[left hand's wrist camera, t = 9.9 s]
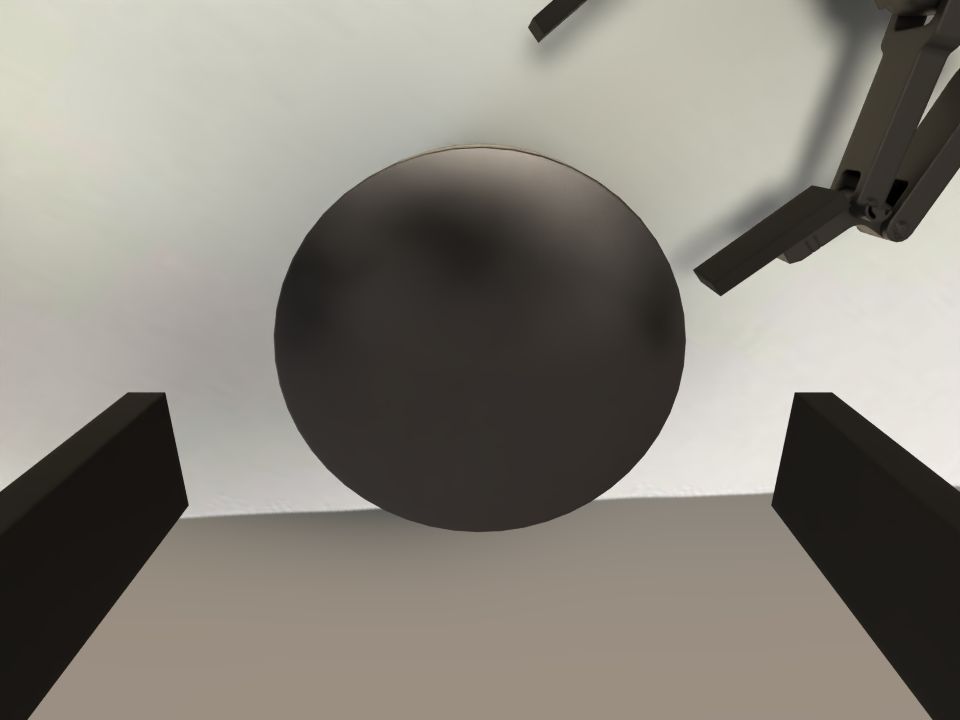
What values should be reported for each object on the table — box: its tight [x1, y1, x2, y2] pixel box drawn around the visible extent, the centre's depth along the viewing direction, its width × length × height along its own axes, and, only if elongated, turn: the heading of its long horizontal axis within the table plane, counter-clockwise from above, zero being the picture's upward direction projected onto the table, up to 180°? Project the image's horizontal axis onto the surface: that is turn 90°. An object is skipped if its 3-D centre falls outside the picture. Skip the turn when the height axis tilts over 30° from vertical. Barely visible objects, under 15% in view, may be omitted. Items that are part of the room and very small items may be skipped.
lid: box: [274, 144, 686, 532], centre depth 18 cm, size 12×12×2 cm
